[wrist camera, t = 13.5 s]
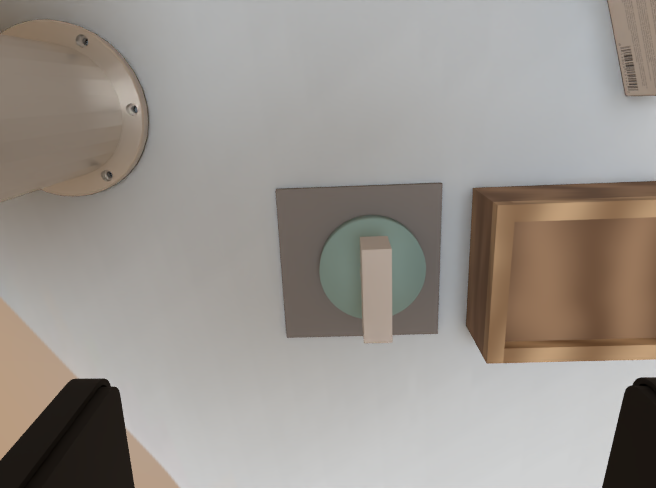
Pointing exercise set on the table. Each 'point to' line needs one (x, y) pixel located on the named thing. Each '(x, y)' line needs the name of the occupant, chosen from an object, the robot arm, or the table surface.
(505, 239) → the tray
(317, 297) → the mat
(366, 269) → the cover
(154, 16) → the table surface
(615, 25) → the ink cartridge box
